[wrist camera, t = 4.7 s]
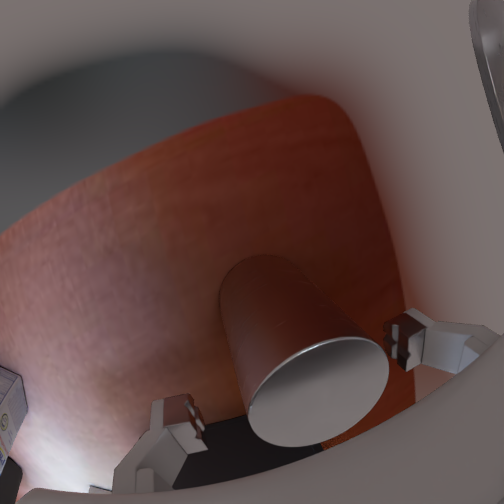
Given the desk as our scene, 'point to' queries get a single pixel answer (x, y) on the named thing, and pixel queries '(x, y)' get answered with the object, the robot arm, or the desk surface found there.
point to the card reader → (9, 482)
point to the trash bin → (235, 455)
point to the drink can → (297, 354)
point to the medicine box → (10, 411)
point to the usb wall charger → (98, 491)
